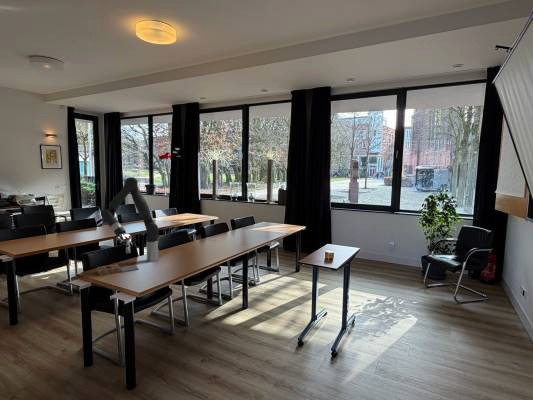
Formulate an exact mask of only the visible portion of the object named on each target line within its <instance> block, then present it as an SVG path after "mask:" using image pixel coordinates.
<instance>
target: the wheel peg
mask: <svg viewBox="0 0 533 400" xmlns="http://www.w3.org/2000/svg"><path fill="white" fill-rule="evenodd" d="M131 237H132V236H131ZM131 237H126V238H125V240H126V242H127V243H128V245H129V247H126V246H125V253H126V254H131V246H130V239H131Z"/></svg>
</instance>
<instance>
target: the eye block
mask: <svg viewBox="0 0 533 400" xmlns="http://www.w3.org/2000/svg"><path fill="white" fill-rule="evenodd" d="M120 267H121V266H119V265H118V264H117V263H116V264H115V263H114V264H110V265H109V264H108V265H103V266H97V267H96V270H97V271H96V272H97V274H98V275H99V276H105V275H106V276H107V275H112V274H119V273H121V271H120Z"/></svg>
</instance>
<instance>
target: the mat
mask: <svg viewBox="0 0 533 400" xmlns="http://www.w3.org/2000/svg"><path fill="white" fill-rule="evenodd" d="M119 267H120V273H127V272H132V271H139V267H137V266H136V264H134V265H133V264H132V265H127V266H119Z"/></svg>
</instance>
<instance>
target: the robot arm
mask: <svg viewBox="0 0 533 400" xmlns="http://www.w3.org/2000/svg"><path fill="white" fill-rule="evenodd" d="M138 181H139V180H138V179H137V178H135V177H133V176H132V177H131V176H130V177H127V178H126V179H125V181H124V185H123V187H122V188H121V189H120V191H119V192H118V193H117V194H116V195H115V196H114V197H113V199H112V200H111V201H110V202H109V204H108V209H107V208H104V209H101V211H100V216H101V218H103V219H102V220H103V221H105V222H106V223H107V225H108V226H109V227H110V229H111V230H112V232H113V233H114V235H115V236H116V238H115V241H117V242H118V243H120V244H121V245H124V246H125V248H126V247H129V245H128V243H127V242H126V240H125V238H126V237H131V239H130V247H133V241H132V240H133V237H132V234H131V233H130V234H128V233H127V232H126V229H125V228H124V227H123V226H122V224H121V223H120V222H119V221H118V219H117V218H116V217H115V214H116V212H117V209H118V208H119V207H120V205H122V203H123V202H124V200H125V199H126V198H127V197H128V195H129V194H130V195H131V197H132V198H131V199H132V202H133V204H134V206H135V208H136V210H137V212H138V214H139V216H140V217H141V218H142V221H143V224H144V228H145V231H146V262H148V263H154V262H158V261H159V260H160V259H159V258H160V254H159V253H160V250H159V240H158V239H159V227H158V225H157V223H155V221H154V219H153V218H152V215H151V211H150V208H149V205H148V203H147V200H146V199H145V196H144V195H143V194H142V193H141V191H140V189H139V186H138V184H139V182H138Z"/></svg>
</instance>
